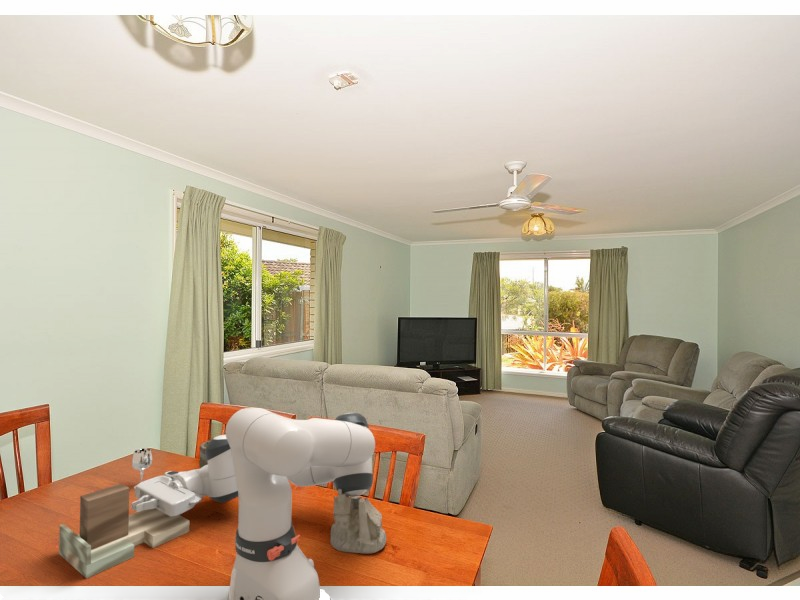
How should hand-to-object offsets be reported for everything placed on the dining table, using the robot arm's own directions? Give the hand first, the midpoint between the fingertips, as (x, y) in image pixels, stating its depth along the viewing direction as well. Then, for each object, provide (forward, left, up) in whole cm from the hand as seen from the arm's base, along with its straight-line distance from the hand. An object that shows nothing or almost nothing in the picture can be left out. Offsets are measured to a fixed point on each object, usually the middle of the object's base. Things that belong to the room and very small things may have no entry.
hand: (133, 507), depth 112 cm
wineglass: (+31, -16, -8) cm, 36 cm away
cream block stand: (0, +2, -8) cm, 8 cm away
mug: (+20, -36, -8) cm, 42 cm away
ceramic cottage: (-48, -36, -8) cm, 60 cm away
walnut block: (0, +7, -5) cm, 9 cm away
